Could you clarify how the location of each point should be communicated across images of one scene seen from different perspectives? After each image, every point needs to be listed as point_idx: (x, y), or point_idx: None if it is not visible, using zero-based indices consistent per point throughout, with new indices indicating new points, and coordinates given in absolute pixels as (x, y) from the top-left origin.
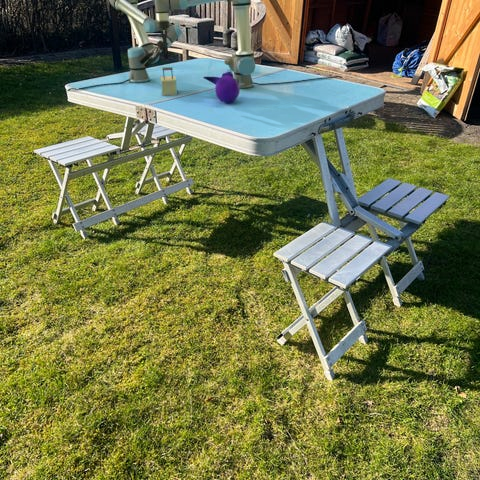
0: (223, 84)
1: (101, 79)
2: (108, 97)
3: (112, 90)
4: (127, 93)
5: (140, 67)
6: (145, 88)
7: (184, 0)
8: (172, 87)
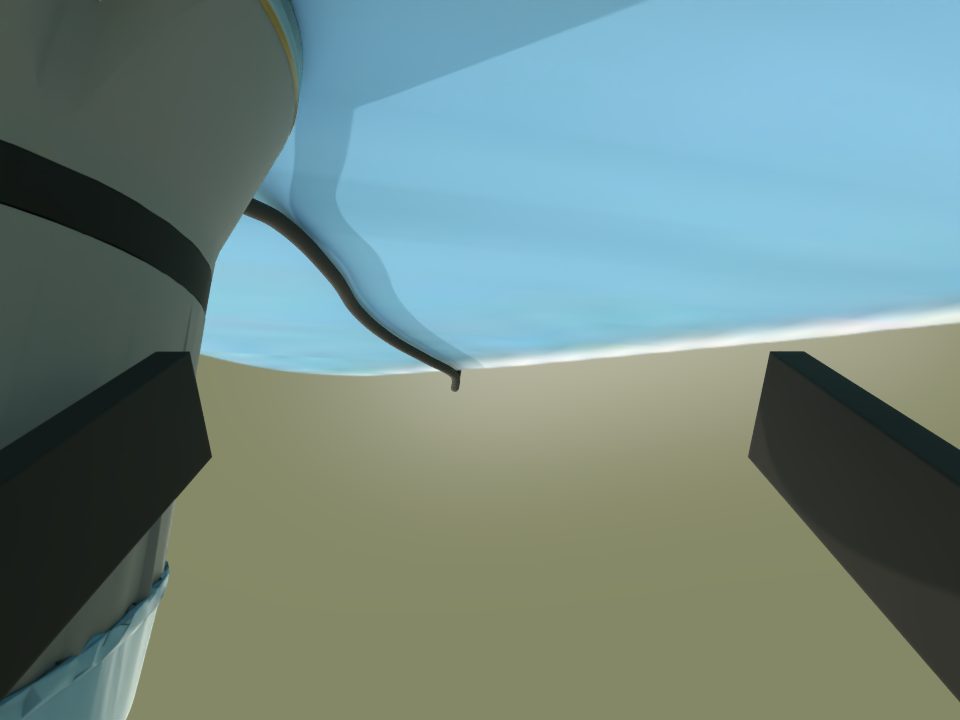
0: None
1: None
2: (840, 329)
3: (614, 296)
4: (883, 254)
5: (155, 286)
6: (895, 56)
7: None
8: None
